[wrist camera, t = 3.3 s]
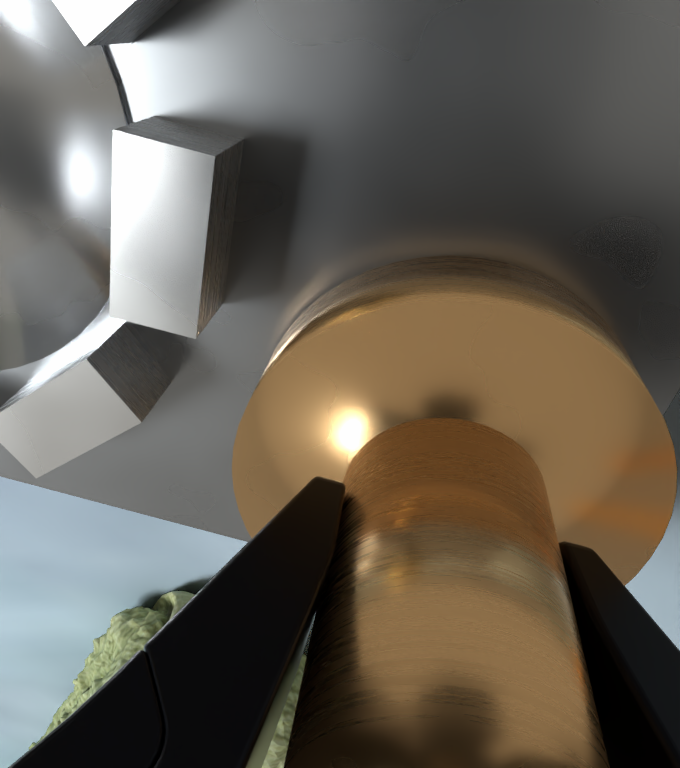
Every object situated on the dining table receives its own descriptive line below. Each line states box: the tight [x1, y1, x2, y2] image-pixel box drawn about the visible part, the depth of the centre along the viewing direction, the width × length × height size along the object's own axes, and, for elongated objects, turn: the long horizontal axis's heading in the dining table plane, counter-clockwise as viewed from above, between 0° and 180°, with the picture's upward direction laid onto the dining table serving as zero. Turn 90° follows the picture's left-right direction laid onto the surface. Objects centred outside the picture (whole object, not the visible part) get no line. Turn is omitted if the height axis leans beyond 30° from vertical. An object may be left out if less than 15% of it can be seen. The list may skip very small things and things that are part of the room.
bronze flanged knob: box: [232, 256, 677, 768], centre depth 7 cm, size 6×6×6 cm
